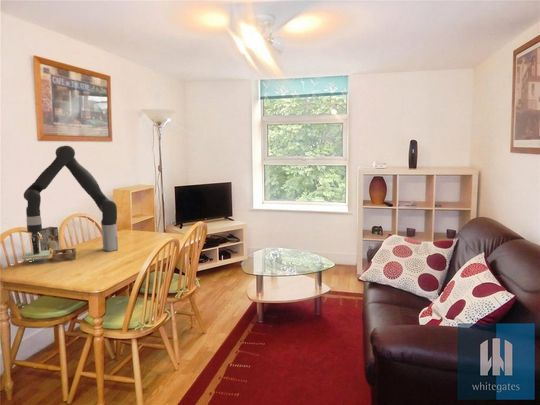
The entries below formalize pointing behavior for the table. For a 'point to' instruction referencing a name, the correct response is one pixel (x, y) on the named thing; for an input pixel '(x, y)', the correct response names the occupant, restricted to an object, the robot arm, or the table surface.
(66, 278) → the table surface
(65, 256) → the box
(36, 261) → the mat
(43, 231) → the coffee box
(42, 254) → the lid
